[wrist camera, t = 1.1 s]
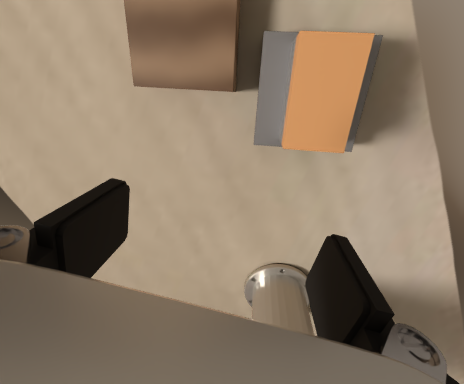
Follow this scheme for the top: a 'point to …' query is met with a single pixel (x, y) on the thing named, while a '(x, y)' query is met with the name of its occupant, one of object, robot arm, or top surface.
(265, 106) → the stand
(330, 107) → the cover
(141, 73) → the stand
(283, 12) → the top surface
